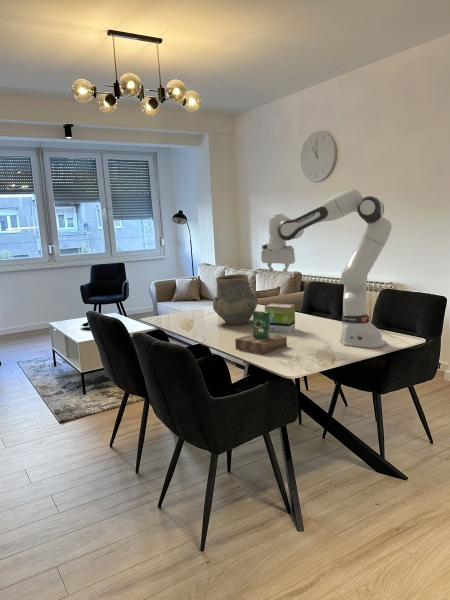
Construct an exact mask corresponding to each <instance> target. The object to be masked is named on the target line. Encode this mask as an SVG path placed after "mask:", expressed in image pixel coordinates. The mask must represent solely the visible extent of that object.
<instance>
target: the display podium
mask: <svg viewBox="0 0 450 600" xmlns="http://www.w3.org/2000/svg"><path fill="white" fill-rule="evenodd" d="M234 339H235V340H234V341H235V344H234V345H235V350H241V351H245V352H249V353H256V354H260V355H266V354H269V353H272V352H274V351H277V350H280V349H283V348H286V347H288V343H287V341H288V339H287V336H285V335H279V334H273V333H269V338H255V337H253V333H251V334H247V335H244V336H243V335H242V337H237V338H234Z"/></svg>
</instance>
